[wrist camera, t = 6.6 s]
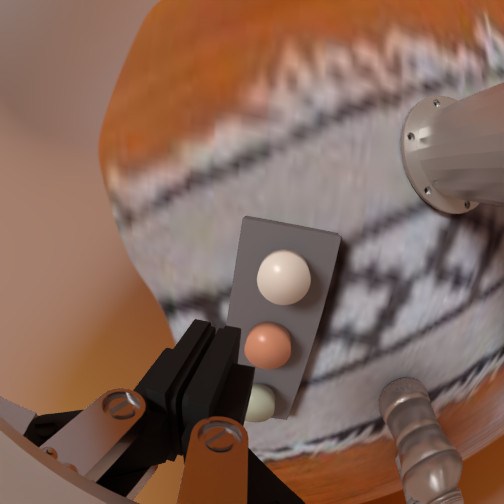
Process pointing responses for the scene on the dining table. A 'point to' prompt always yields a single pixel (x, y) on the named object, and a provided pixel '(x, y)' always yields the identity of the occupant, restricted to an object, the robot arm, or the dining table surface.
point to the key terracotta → (268, 345)
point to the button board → (290, 316)
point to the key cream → (283, 277)
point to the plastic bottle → (421, 444)
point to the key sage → (260, 403)
